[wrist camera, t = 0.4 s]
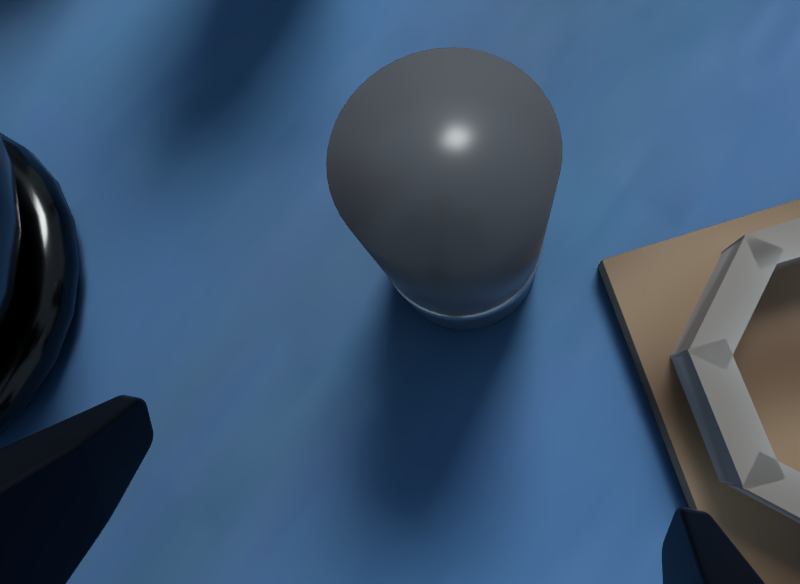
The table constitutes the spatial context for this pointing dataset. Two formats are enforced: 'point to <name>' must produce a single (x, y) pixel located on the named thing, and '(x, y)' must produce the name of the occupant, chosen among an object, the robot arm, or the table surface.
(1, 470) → the robot arm
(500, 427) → the table surface
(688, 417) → the walnut mount board
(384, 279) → the table surface
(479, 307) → the grey dome-topped cylinder
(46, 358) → the amphora vase
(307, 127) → the table surface
